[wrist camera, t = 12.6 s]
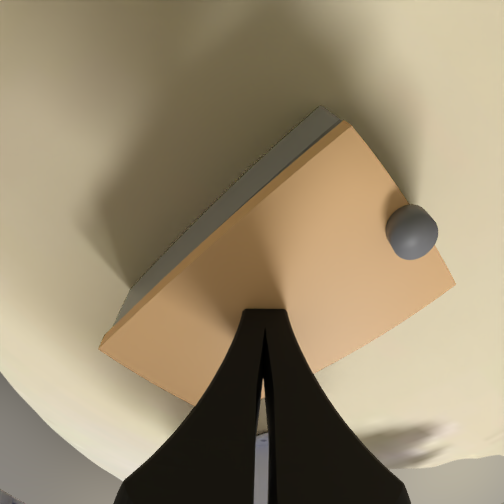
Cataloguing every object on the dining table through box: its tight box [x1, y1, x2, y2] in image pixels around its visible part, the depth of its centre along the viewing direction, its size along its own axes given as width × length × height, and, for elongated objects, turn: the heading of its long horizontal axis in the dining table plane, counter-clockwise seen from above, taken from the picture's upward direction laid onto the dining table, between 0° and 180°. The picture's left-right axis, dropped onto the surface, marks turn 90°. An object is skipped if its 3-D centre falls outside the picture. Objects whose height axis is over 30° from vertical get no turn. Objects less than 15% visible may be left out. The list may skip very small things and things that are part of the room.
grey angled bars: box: [113, 105, 342, 326], centre depth 13 cm, size 12×7×3 cm, turn 135°
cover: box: [98, 120, 456, 406], centre depth 11 cm, size 12×7×1 cm, turn 134°
